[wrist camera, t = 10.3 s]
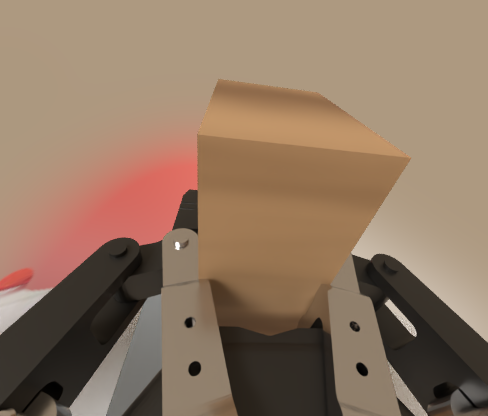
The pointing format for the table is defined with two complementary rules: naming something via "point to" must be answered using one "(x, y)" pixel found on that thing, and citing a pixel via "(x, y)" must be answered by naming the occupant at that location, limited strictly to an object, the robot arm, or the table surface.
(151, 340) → the grey box with opening
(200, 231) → the wooden block
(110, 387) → the table surface
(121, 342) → the table surface
